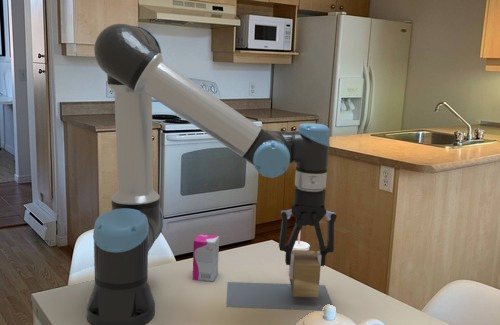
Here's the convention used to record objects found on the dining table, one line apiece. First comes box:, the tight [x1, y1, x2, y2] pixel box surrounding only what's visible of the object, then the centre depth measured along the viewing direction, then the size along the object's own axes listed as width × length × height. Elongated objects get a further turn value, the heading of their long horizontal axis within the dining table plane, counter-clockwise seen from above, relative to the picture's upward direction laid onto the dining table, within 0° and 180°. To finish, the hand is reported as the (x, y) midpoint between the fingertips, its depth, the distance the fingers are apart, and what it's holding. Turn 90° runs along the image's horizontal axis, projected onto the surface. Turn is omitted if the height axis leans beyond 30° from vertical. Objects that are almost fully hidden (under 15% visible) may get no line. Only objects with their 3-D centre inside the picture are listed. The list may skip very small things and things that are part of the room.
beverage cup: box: [287, 229, 311, 274], centre depth 144 cm, size 6×6×14 cm
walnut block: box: [288, 250, 322, 297], centre depth 130 cm, size 10×6×8 cm, turn 1°
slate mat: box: [226, 281, 333, 311], centre depth 131 cm, size 26×14×1 cm, turn 92°
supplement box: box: [192, 233, 220, 283], centre depth 139 cm, size 6×6×12 cm
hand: (303, 276), depth 130 cm, fingers closed on walnut block, 6 cm apart
